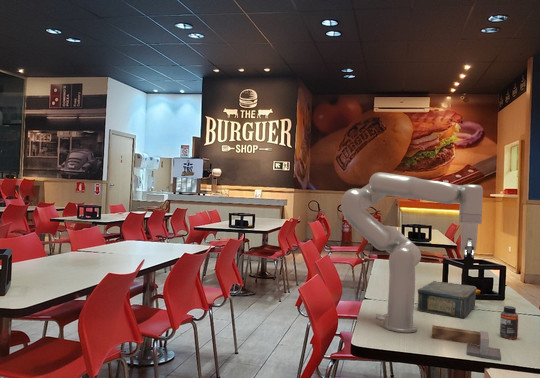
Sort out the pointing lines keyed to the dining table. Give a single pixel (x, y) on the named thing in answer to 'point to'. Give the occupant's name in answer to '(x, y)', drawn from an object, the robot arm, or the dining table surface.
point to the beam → (456, 335)
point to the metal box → (447, 299)
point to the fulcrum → (483, 348)
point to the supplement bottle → (509, 323)
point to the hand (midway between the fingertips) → (468, 266)
